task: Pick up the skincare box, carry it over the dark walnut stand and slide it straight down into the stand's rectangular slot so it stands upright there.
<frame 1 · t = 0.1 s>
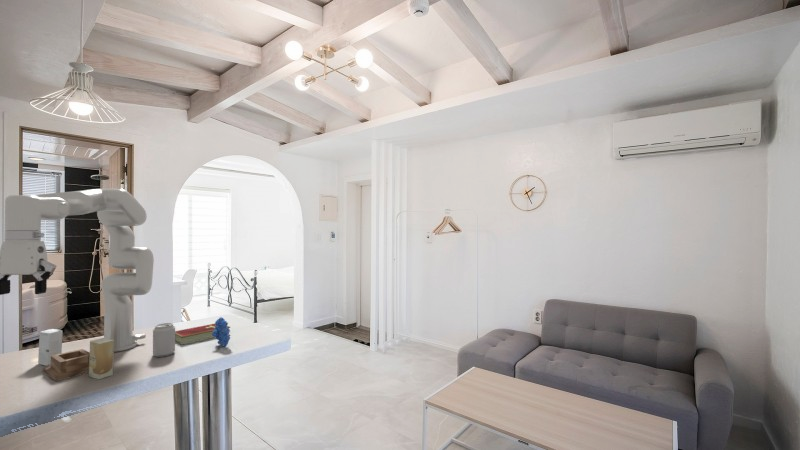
hand: (22, 293, 109), 31 cm above the table, tool pointing down, fingers open, 9 cm apart
can: (163, 354, 146), on the table
skincare box: (101, 376, 125), on the table
skincare box 2: (50, 363, 136), on the table
slotted stand: (71, 370, 129), on the table
grapes: (219, 346, 156), on the table
hardcover book: (201, 338, 169), on the table
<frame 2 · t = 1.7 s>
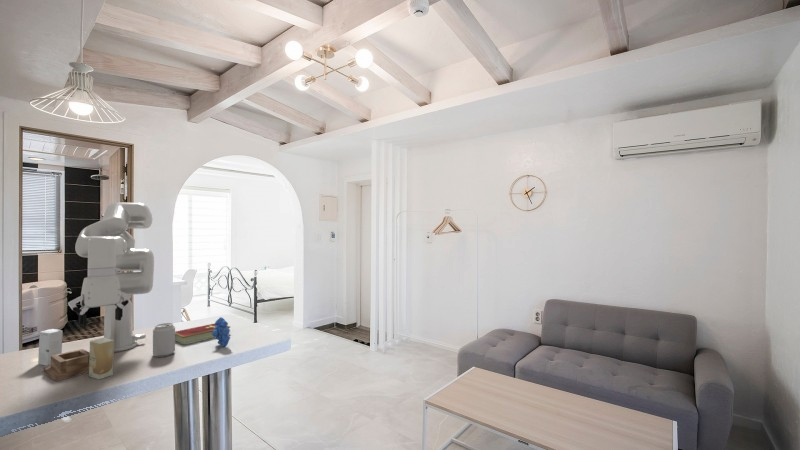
hand: (101, 322, 124), 18 cm above the table, tool pointing down, fingers open, 9 cm apart
nothing on the table moved.
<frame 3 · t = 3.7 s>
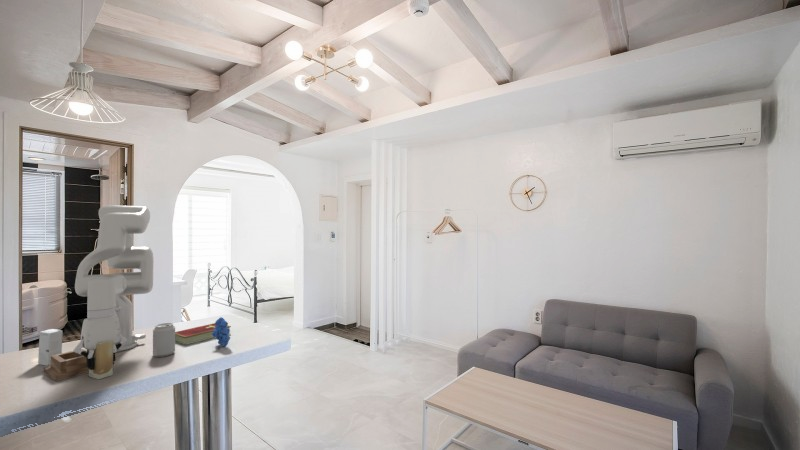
hand: (101, 365, 125), 3 cm above the table, tool pointing down, fingers closed on skincare box, 4 cm apart
skincare box: (101, 376, 125), on the table, touching gripper
everything else where it was.
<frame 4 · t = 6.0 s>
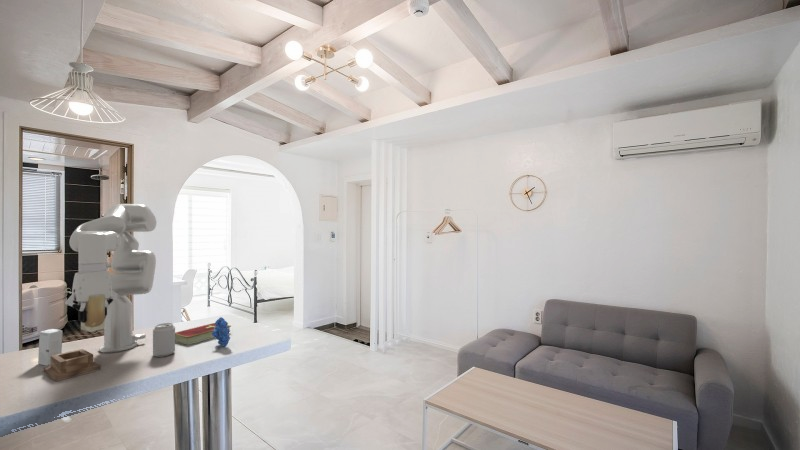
hand: (92, 319, 126), 19 cm above the table, tool pointing down, fingers closed on skincare box, 4 cm apart
skincare box: (92, 329, 126), point 15 cm above the table, touching gripper
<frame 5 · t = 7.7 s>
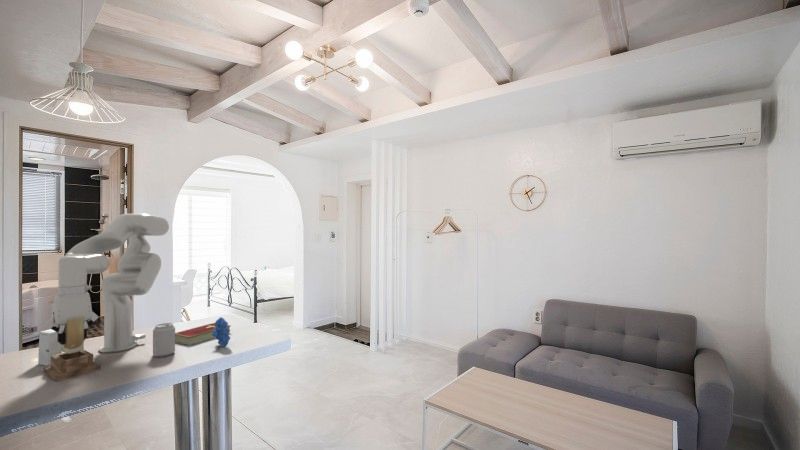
hand: (72, 341, 129), 10 cm above the table, tool pointing down, fingers closed on skincare box, 4 cm apart
skincare box: (72, 351, 129), point 7 cm above the table, touching gripper
when the fingers open (7 cm above the table, at t = 8.8 s): skincare box drops 2 cm, resting on slotted stand.
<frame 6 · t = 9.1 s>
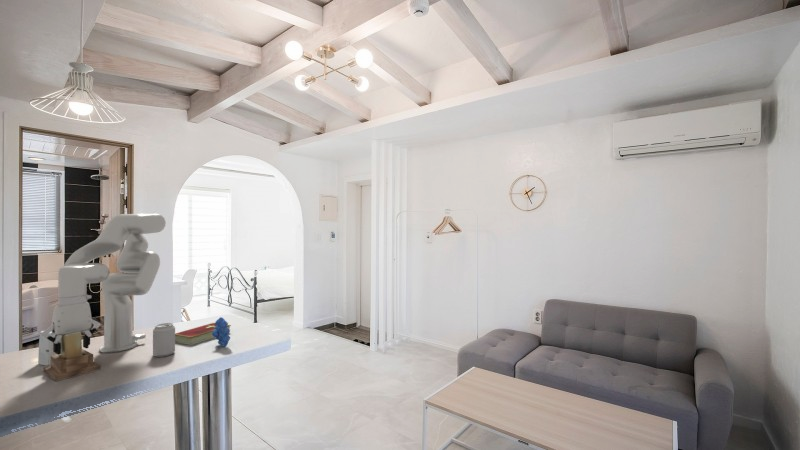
hand: (72, 350, 129), 7 cm above the table, tool pointing down, fingers open, 7 cm apart
skincare box: (72, 366, 129), point 1 cm above the table, touching slotted stand
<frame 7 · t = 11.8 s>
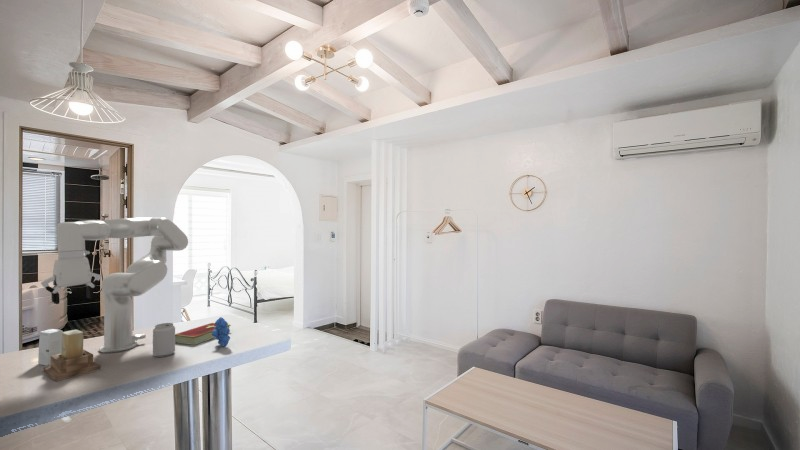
hand: (73, 300, 136), 23 cm above the table, tool pointing down, fingers open, 9 cm apart
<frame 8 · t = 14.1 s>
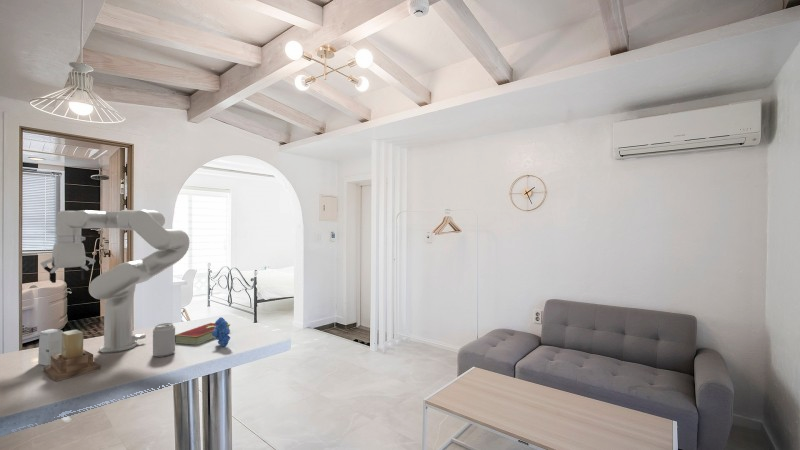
hand: (69, 281, 152), 28 cm above the table, tool pointing down, fingers open, 9 cm apart
at the end: skincare box 0.2 cm off-centre on the slotted stand, point 1.3 cm above the slotted stand's base; skincare box tilted 0°; the gripper is holding nothing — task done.
